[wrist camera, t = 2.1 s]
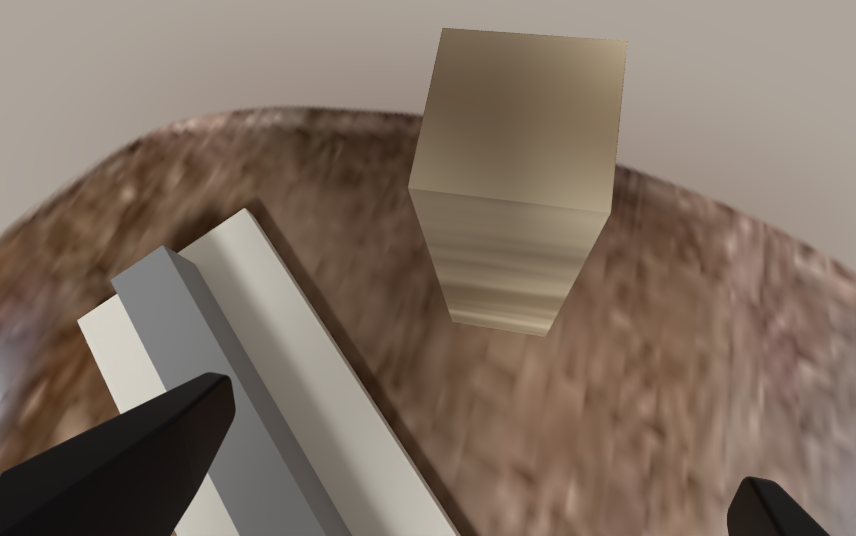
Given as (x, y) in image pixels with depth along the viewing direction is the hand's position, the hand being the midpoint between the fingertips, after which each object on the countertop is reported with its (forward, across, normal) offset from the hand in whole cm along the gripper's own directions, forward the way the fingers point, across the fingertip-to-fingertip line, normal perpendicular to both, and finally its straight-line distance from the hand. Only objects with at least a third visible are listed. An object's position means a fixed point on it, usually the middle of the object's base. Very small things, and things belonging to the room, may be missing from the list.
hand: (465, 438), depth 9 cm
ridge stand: (+7, +8, +11) cm, 15 cm away
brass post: (+14, 0, +4) cm, 14 cm away
